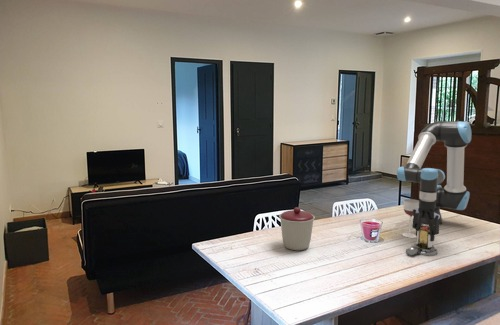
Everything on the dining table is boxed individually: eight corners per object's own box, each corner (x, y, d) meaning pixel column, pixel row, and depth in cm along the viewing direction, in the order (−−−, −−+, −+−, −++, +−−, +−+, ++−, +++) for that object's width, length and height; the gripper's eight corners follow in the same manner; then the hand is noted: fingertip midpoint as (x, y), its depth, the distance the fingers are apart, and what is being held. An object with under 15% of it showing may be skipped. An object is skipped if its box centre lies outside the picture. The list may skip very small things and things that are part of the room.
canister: (313, 255, 180) (314, 213, 177) (276, 252, 184) (277, 211, 180) (314, 241, 197) (315, 203, 194) (281, 239, 201) (281, 202, 198)
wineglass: (416, 239, 201) (418, 203, 198) (399, 235, 206) (401, 201, 203) (419, 235, 208) (422, 200, 205) (403, 231, 213) (405, 198, 210)
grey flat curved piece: (420, 244, 193) (420, 237, 192) (442, 252, 183) (442, 245, 182) (398, 251, 184) (398, 244, 183) (419, 260, 173) (420, 252, 173)
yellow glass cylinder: (422, 244, 188) (424, 224, 186) (432, 247, 184) (433, 227, 182) (416, 246, 185) (418, 226, 184) (426, 250, 181) (427, 229, 179)
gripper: (406, 196, 186) (403, 240, 190) (440, 205, 171) (437, 252, 174) (415, 195, 190) (412, 238, 194) (450, 202, 175) (446, 249, 178)
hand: (424, 244), depth 184 cm, fingers open, 5 cm apart
